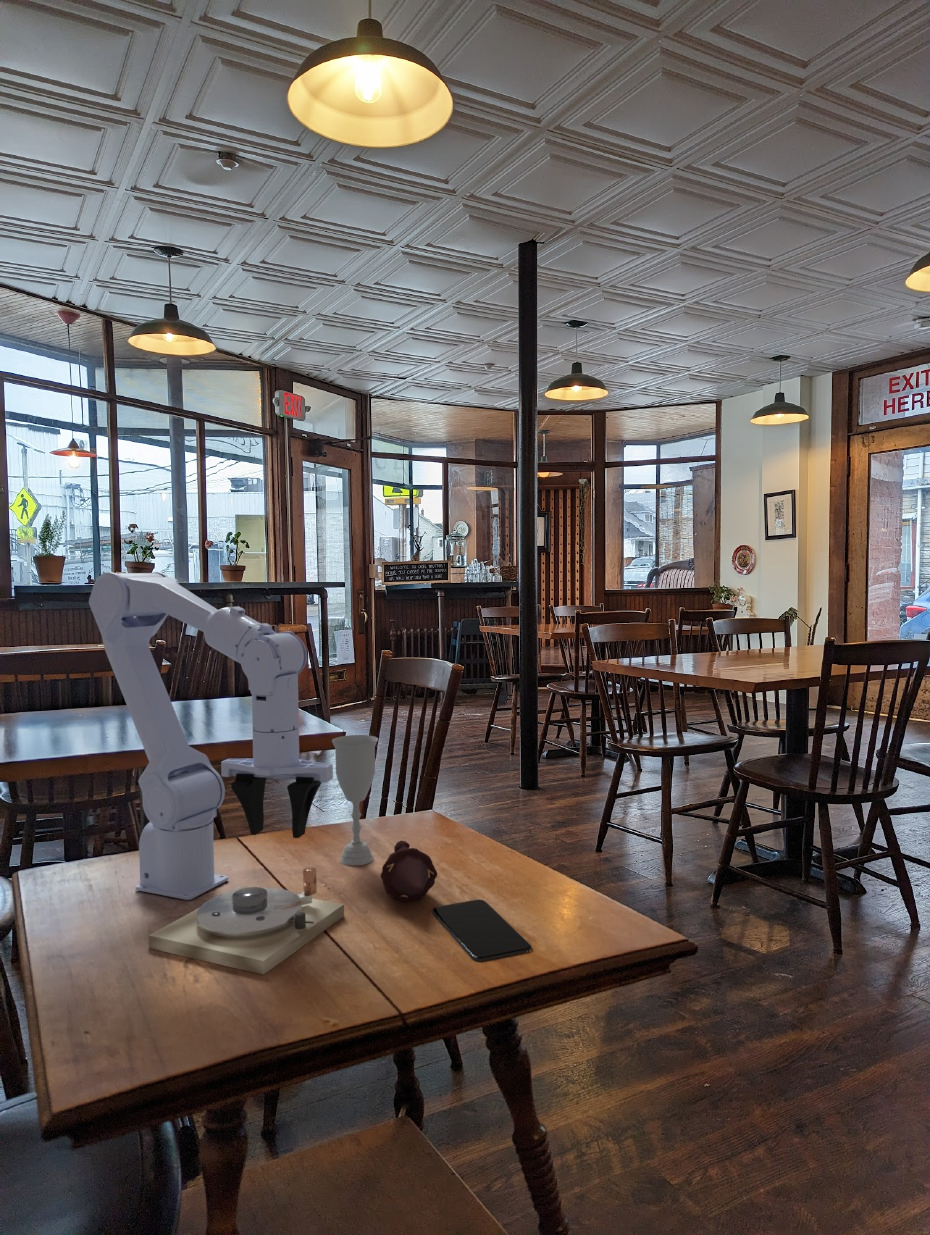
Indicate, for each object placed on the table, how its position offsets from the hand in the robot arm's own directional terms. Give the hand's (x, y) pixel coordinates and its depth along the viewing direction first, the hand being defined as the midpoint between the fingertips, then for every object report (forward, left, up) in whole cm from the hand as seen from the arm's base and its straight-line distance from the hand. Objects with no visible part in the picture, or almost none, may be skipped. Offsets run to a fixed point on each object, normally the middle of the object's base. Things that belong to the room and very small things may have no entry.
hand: (277, 834), depth 104 cm
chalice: (0, +19, -10) cm, 21 cm away
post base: (+1, -7, -9) cm, 12 cm away
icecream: (+14, +9, -10) cm, 19 cm away
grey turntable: (+2, -6, -7) cm, 10 cm away
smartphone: (+26, +4, -10) cm, 28 cm away
